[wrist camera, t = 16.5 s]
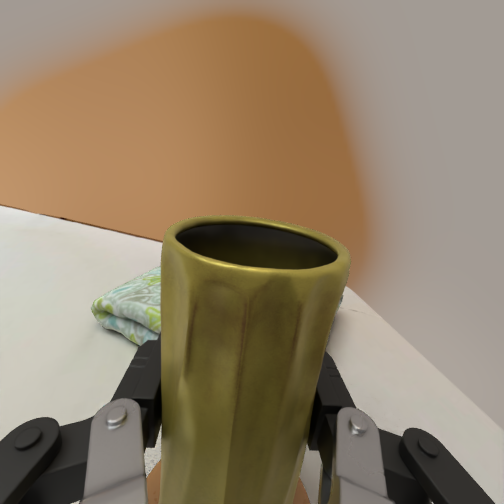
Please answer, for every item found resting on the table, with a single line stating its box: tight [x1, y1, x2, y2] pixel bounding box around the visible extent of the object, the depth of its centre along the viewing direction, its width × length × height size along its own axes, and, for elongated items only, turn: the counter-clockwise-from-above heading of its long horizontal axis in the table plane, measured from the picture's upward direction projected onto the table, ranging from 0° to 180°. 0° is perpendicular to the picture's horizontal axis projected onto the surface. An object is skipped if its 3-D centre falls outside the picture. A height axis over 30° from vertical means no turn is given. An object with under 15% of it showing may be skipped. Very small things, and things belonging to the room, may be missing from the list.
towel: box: [91, 266, 343, 346], centre depth 27 cm, size 18×21×5 cm
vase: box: [158, 215, 351, 504], centre depth 10 cm, size 6×6×14 cm
